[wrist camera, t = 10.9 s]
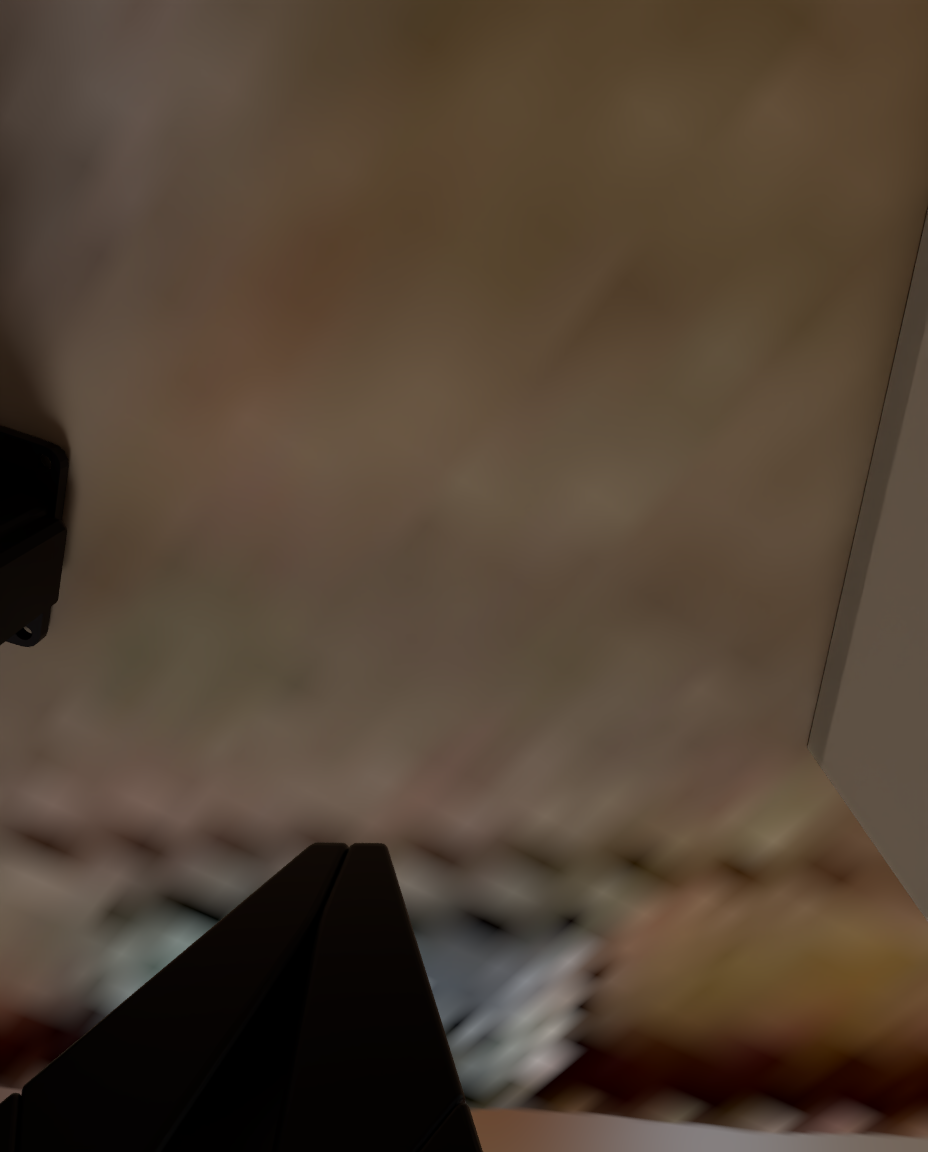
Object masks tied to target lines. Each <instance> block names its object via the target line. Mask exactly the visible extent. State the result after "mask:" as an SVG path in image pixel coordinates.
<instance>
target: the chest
mask: <svg viewBox="0 0 928 1152" xmlns="http://www.w3.org/2000/svg"><path fill="white" fill-rule="evenodd" d="M807 748H808V750H809V751H810V753H811V754H812V755H813V757H814V758H815V760H816V761H817V763H818V764H819V766H820V767H821V768H822V770H823V771H824V773H825V774H826V776H827V777H828V778H829V780H830V781H831V783H832V784H833V786H834V787H835V789H836V790H837V791H838V793H839V794H840V796H841V797H842V799H843V800H844V802H845V803H846V804H847V806H848V807H849V809H850V810H851V812H852V813H853V815H854V816H855V817H856V819H857V820H858V822H859V823H860V825H861V826H862V828H863V829H864V830H865V832H866V833H867V835H868V836H869V838H870V839H871V841H872V842H873V843H874V845H875V846H876V848H877V849H878V851H879V852H880V853H881V855H882V856H883V858H884V859H885V861H886V862H887V864H888V865H889V866H890V868H891V869H892V871H893V872H894V874H895V875H896V877H897V878H898V879H899V881H900V882H901V884H902V885H903V887H904V888H905V890H906V891H907V892H908V894H909V895H910V897H911V898H912V900H913V901H914V903H915V904H916V905H917V907H918V908H919V910H920V911H921V913H922V914H923V916H924V917H925V918H926V920H927V921H928V211H927V215H926V220H925V224H924V229H923V233H922V237H921V242H920V246H919V251H918V255H917V260H916V264H915V269H914V273H913V278H912V282H911V287H910V291H909V295H908V300H907V304H906V309H905V313H904V318H903V322H902V327H901V331H900V336H899V340H898V345H897V349H896V354H895V358H894V362H893V367H892V371H891V376H890V380H889V385H888V389H887V394H886V398H885V403H884V407H883V412H882V416H881V421H880V425H879V429H878V434H877V438H876V443H875V447H874V452H873V456H872V461H871V465H870V470H869V474H868V479H867V483H866V487H865V492H864V496H863V501H862V505H861V510H860V514H859V519H858V523H857V528H856V532H855V537H854V541H853V546H852V550H851V554H850V559H849V563H848V568H847V572H846V577H845V581H844V586H843V590H842V595H841V599H840V604H839V608H838V612H837V617H836V621H835V626H834V630H833V635H832V639H831V644H830V648H829V653H828V657H827V662H826V666H825V671H824V675H823V679H822V684H821V688H820V693H819V697H818V702H817V706H816V711H815V715H814V720H813V724H812V729H811V733H810V737H809V742H808V746H807Z"/></svg>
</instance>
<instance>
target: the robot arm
mask: <svg viewBox="0 0 928 1152" xmlns="http://www.w3.org/2000/svg"><path fill="white" fill-rule="evenodd" d="M42 454H43V455H45V456H47V457H48V458H49V460H50V461H51V468H48V467H46V466H45V465H44V464H43V463H42V461H41V455H42ZM68 466H69V465H68V458H67V456H66V454H65V452H64V451H63V450H62V449H61V448H60V447H59V446H58V445H56V444H54V443H52V442H49V441H46V440H43V439H40V438H37V437H34V436H31V435H28V434H25V433H22V432H19V431H16V430H13V429H10V428H7V427H4V426H1V425H0V645H1V644H2V643H4V642H5V641H6V642H10V643H13V644H16V645H20V646H25V647H30V646H34V645H35V644H37V643H38V642H39V641H40V640H42V639H43V638H44V637H45V636H46V634H47V632H48V625H49V617H50V609H51V606H52V605H54V604H55V603H56V602H57V601H58V596H59V588H60V580H61V573H62V565H63V557H64V550H65V542H66V534H67V529H66V527H65V525H64V522H63V521H62V514H63V506H64V498H65V490H66V482H67V474H68ZM25 626H27V627H28V628H29V629H30V630H31V632H32V633H29V632H27V631H26V630H25V629H24V628H23V627H25ZM0 1152H483V1151H482V1148H481V1145H480V1141H479V1138H478V1135H477V1131H476V1128H475V1125H474V1122H473V1119H472V1115H471V1112H470V1109H469V1106H468V1105H467V1104H466V1103H465V1096H464V1093H463V1090H462V1086H461V1083H460V1080H459V1077H458V1073H457V1070H456V1067H455V1064H454V1060H453V1057H452V1054H451V1051H450V1048H449V1044H448V1041H447V1038H446V1035H445V1031H444V1028H443V1025H442V1022H441V1019H440V1015H439V1012H438V1009H437V1006H436V1002H435V999H434V996H433V993H432V990H431V986H430V983H429V980H428V977H427V973H426V970H425V967H424V964H423V961H422V957H421V954H420V951H419V948H418V944H417V941H416V938H415V935H414V932H413V928H412V925H411V922H410V919H409V915H408V912H407V909H406V906H405V903H404V899H403V896H402V893H401V890H400V886H399V883H398V880H397V877H396V873H395V870H394V867H393V864H392V861H391V857H390V854H389V851H388V848H387V846H386V845H384V844H382V843H354V844H353V845H351V846H350V847H348V845H346V844H345V843H314V844H312V845H310V846H308V847H307V848H306V849H305V850H304V851H302V852H301V853H300V854H299V855H298V856H297V857H295V858H294V859H293V860H292V861H291V862H289V863H288V864H287V865H286V866H285V867H283V868H282V869H281V870H280V871H279V872H277V873H276V874H275V875H274V876H273V877H272V878H270V879H269V880H268V881H267V882H266V883H264V884H263V885H262V886H261V887H260V888H258V889H257V890H256V891H255V892H254V893H252V894H251V895H250V896H249V897H248V898H247V899H245V900H244V901H243V902H242V903H241V904H239V905H238V906H237V907H236V908H235V909H233V910H232V911H231V912H230V913H229V914H227V915H226V916H225V917H224V918H223V919H222V920H220V921H219V922H218V923H217V924H216V925H214V926H213V927H212V928H211V929H210V930H208V931H207V932H206V933H205V934H204V935H202V936H201V937H200V938H199V939H198V940H196V941H195V942H194V943H193V944H192V945H191V946H189V947H188V948H187V949H186V950H185V951H183V952H182V953H181V954H180V955H179V956H177V957H176V958H175V959H174V960H173V961H171V962H170V963H169V964H168V965H167V966H166V967H164V968H163V969H162V970H161V971H160V972H158V973H157V974H156V975H155V976H154V977H152V978H151V979H150V980H149V981H148V982H146V983H145V984H144V985H143V986H142V987H141V988H139V989H138V990H137V991H136V992H135V993H133V994H132V995H131V996H130V997H129V998H127V999H126V1000H125V1001H124V1002H123V1003H121V1004H120V1005H119V1006H118V1007H117V1008H116V1009H114V1010H113V1011H112V1012H111V1013H110V1014H108V1015H107V1016H106V1017H105V1018H104V1019H102V1020H101V1021H100V1022H99V1023H98V1024H96V1025H95V1026H94V1027H93V1028H92V1029H91V1030H89V1031H88V1032H87V1033H86V1034H85V1035H83V1036H82V1037H81V1038H80V1039H79V1040H77V1041H76V1042H75V1043H74V1044H73V1045H71V1046H70V1047H69V1048H68V1049H67V1050H66V1051H64V1052H63V1053H62V1054H61V1055H60V1056H58V1057H57V1058H56V1059H55V1060H54V1061H52V1062H51V1063H50V1064H49V1065H48V1066H46V1067H45V1068H44V1069H43V1070H42V1071H40V1072H39V1073H38V1074H37V1075H36V1076H35V1077H33V1078H32V1079H31V1080H30V1081H29V1082H27V1083H26V1084H25V1085H24V1087H23V1089H22V1095H20V1094H19V1093H13V1094H11V1095H10V1096H9V1097H7V1098H6V1099H5V1100H4V1101H2V1102H1V1103H0Z"/></svg>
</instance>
